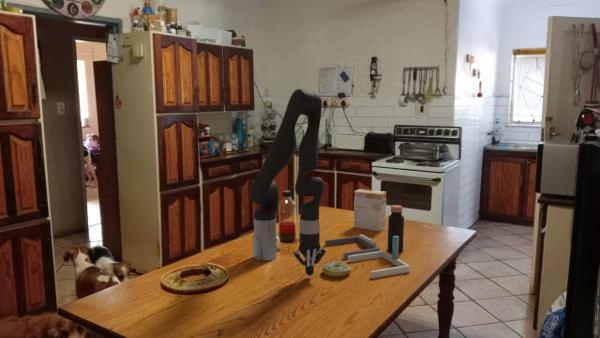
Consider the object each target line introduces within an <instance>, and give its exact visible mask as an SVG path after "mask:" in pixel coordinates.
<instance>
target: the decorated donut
mask: <svg viewBox="0 0 600 338" xmlns="http://www.w3.org/2000/svg"><path fill="white" fill-rule="evenodd" d="M351 271H352V269H351V266H350V265H348V264H347V263H346V262H343V261H330V262H326V263H324V264H323V265H322V272H323V274H324V275H325V276H327V277H329V278H332V279H333V278H334V279H341V278H345V277H347V276H348V275H349V273H351Z"/></svg>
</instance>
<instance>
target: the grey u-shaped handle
mask: <svg viewBox="0 0 600 338" xmlns="http://www.w3.org/2000/svg"><path fill="white" fill-rule="evenodd" d="M351 243H352V244H353V243H358V244H360V245H361V246H363V247H365V248H366V249H359V250H354V251H347V252H343V257H342V258H343V259H344V260H348V256H350V255H357V254H364V253H370V252H377V251H381V250H380V249H381V248H380V247H378V246H376V245H377V242H376V241H375V240H373V239H371V238H370V237H368V236H366V235H364V234H361V233H360V234H359V235H355V236H348V237H341V238H333V239H325V240H324V246H325V247H330V246H337V245H346V244H351Z"/></svg>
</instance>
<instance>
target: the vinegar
mask: <svg viewBox="0 0 600 338" xmlns="http://www.w3.org/2000/svg"><path fill="white" fill-rule="evenodd" d="M390 213H391V214H389V216H388V222H387V223H388V224H387V251H388V252H390V253H392V245H393V236H399V247H398V253H401V252H403V251H404V236H405V235H404V233H405V232H404V231H405V217H404V216H403V215H402V213H403V206H402V205H399V204H393V205H391V206H390Z"/></svg>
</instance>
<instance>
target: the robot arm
mask: <svg viewBox="0 0 600 338" xmlns="http://www.w3.org/2000/svg"><path fill="white" fill-rule="evenodd" d="M322 102H323V101H322V97H321V95H320V94H319V93H318V92H316V91H312V90H307V89H303V88H298V89H295V90H294V91H293V92H292V93H291V96H290V98H289V99H288V102H287V103H288V104H286V105H287V106H286V109H285V112H284V115H283V118H282V121H281V123H280V125H279V128H278V130H277V132H276V134H275V136H274V139H273V141H272V142H271V145H270V148H269V150H268V153H267V155H266V157H265V159H264V161H263V163H262V165H261V168H259V171H258V172H257V174H256V176H255V178H254V180H253V181H252V183H251V185H250V187H249V192H248V193H249V194H248V195H249V198H250V201H251V202H252V203H254V204H259V206H258V207H257V208H256V209H255V210H254V211H253V235H252V257H253V258H254V259H255V260H256V261H258V262H259V261H260V262H270V261H273V260H275V259H277V213H278V210H279V188H278V185H277V183H276V182H275V181H274V180H275V178H276V177H277V176H278V175H279V174H280V173H281V172H282V170H284V168H286V167H287V166H288V164H289V162H290V161H291V159H292V157H293V155H294V153H295V151H296V149H297V135H296V125H297V123H298V120H299V118H300V116H301V115H302V116H306V117H307V126H306V130H305V132H304V134H303V136H302V138H301V141H300V144H299V147H298V160H299V161H298V165H299V167H298V173H297V178H296V181H295V184H294V185H295V186H294V192H295V193H296V195H297V196H299V197H313V198H312V199H310V200H308V201H304V202H301V204H300V205H299V206H300V207H299V224H298V225H299V229H298V231H299V237H298V238H299V245H298V247H297V248H298V249H297V250H296V251H293V253H292V255H293V256H294V257H295V258H296V260H297V261H298V262H299V263H300V264H301V265H302V266H303V267H305V271H304V272H305V274H306V275H307V276H313V274H314V273H315V271H314V270H315V269H314V268H315V267H314V266H315V265H317V264H319V263H320V262H321V260H322V258H323V257H324V255H326V253H327V252H326V250H325V249H324V248H323V247H322V246H321V244H320V242H321V241H320V238H321V237H320V236H321V234H320V229H321V224H320V205H321V201H322V197H323V194H324V190H325V181H324V180H323V178H322V177H319V176H310V177H309V176H306V174H307V173H309V172H313V171H317V170H318V168H319V150H318V148H319V134H320V133H319V132H320V128H321V127H320V125H321V116H322V109H323V108H322V107H323V106H322V104H323V103H322ZM302 256H303V258H301V257H302Z"/></svg>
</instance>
